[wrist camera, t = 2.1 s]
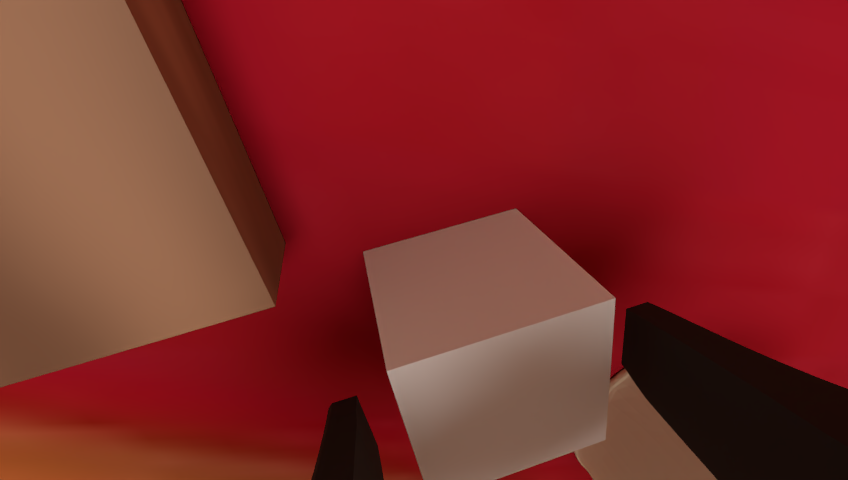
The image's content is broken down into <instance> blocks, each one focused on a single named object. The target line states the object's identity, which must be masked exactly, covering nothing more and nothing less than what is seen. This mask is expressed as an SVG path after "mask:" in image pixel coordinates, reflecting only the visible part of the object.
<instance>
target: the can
mask: <svg viewBox="0 0 848 480" xmlns="http://www.w3.org/2000/svg"><path fill="white" fill-rule="evenodd" d="M574 452H575V455H576V457H577V459H578V461H579V462H580V464H581V465H582V466H583V467H584V468H585V469H586V470H587V471H588V473H589V474H590V475H591V477H592V478H593V480H717V479H716V478H715V477H714V475H713V474H712V473H711V472H710V471H709V470H708V469H707V468H706V466H705V465H704V464H703V463H702V462H701V461H700V460H699V459H698V457H697V456H696V455H695V454H694V453H693V452H692V451H691V450H690V448H689V447H688V446H687V445H686V444H685V443H684V442H683V441H682V439H681V438H680V437H679V436H678V435H677V434H676V433H675V431H674V430H673V429H672V428H671V427H670V426H669V425H668V424H667V422H666V421H665V420H664V419H663V418H662V417H661V416H660V414H659V413H658V412H657V411H656V410H655V409H654V408H653V406H652V405H651V404H650V403H649V402H648V400H647V399H646V398H645V397H644V395H643V394H642V392H641V391H640V390H639V388H638V387H637V386H636V384H635V383H634V381H633V380H632V378H631V377H630V375H629V374H628V372H627V371H626V369H623V370H622V371H620V372H619V373H618V374H617V375H615V376H614V377H613V378H612V379H611V380H610V385H609V399H608V413H607V427H606V440H604V441H601V442H598V443H596V444H593V445H590V446H587V447H584V448H582V449H579V450H576V451H574Z"/></svg>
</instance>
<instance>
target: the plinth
mask: <svg viewBox="0 0 848 480" xmlns="http://www.w3.org/2000/svg"><path fill="white" fill-rule="evenodd" d="M284 249H285V241H284V239H283V236H282V234H281V232H280V229H279V227H278V225H277V222H276V220H275V218H274V215H273V213H272V211H271V208H270V206H269V204H268V201H267V199H266V197H265V194H264V192H263V190H262V188H261V185H260V183H259V181H258V178H257V176H256V174H255V171H254V169H253V167H252V164H251V162H250V160H249V157H248V155H247V153H246V150H245V148H244V146H243V143H242V141H241V139H240V136H239V134H238V132H237V129H236V127H235V125H234V122H233V120H232V118H231V115H230V113H229V111H228V109H227V106H226V104H225V102H224V99H223V97H222V95H221V92H220V90H219V88H218V85H217V83H216V81H215V78H214V76H213V74H212V71H211V69H210V67H209V64H208V62H207V60H206V57H205V55H204V53H203V50H202V48H201V46H200V43H199V41H198V39H197V37H196V34H195V32H194V30H193V27H192V25H191V23H190V20H189V18H188V16H187V13H186V11H185V9H184V6H183V4H182V2H181V0H0V387H3V386H6V385H10V384H13V383H17V382H20V381H23V380H27V379H30V378H34V377H37V376H40V375H44V374H47V373H51V372H54V371H57V370H61V369H64V368H68V367H71V366H74V365H78V364H81V363H85V362H88V361H91V360H95V359H98V358H102V357H105V356H108V355H112V354H115V353H119V352H122V351H125V350H129V349H132V348H136V347H139V346H142V345H146V344H149V343H153V342H156V341H159V340H163V339H166V338H170V337H173V336H176V335H180V334H183V333H187V332H190V331H193V330H197V329H200V328H204V327H207V326H210V325H214V324H217V323H221V322H224V321H227V320H231V319H234V318H238V317H241V316H244V315H248V314H251V313H255V312H258V311H261V310H265V309H268V308H272V307H275V306H276V299H277V293H278V287H279V281H280V274H281V268H282V262H283V256H284Z"/></svg>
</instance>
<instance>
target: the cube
mask: <svg viewBox="0 0 848 480" xmlns="http://www.w3.org/2000/svg"><path fill="white" fill-rule="evenodd" d="M363 254H364V260H365V265H366V270H367V275H368V280H369V285H370V290H371V295H372V300H373V305H374V310H375V315H376V320H377V325H378V330H379V336H380V341H381V346H382V351H383V356H384V361H385V366H386V371H387V374H388V377H389V380H390V383H391V386H392V389H393V392H394V395H395V398H396V401H397V403H398V406H399V409H400V412H401V415H402V418H403V421H404V424H405V427H406V430H407V433H408V436H409V439H410V442H411V445H412V448H413V451H414V454H415V457H416V459H417V462H418V465H419V468H420V471H421V474H422V477H423V480H496V479H499V478H501V477H504V476H507V475H510V474H513V473H515V472H518V471H521V470H524V469H526V468H529V467H532V466H535V465H537V464H540V463H543V462H546V461H549V460H551V459H554V458H557V457H560V456H562V455H565V454H568V453H571V452H573V451H576V450H579V449H582V448H584V447H587V446H590V445H593V444H596V443H598V442H601V441H604V440H606V427H607V413H608V399H609V385H610V371H611V356H612V342H613V328H614V314H615V300H616V298H615V297H614V296H613V295H612V294H611V293H609V292H608V291H607V290H606V289H605V288H604V287H603V286H602V285H601V284H599V283H598V282H597V281H596V280H595V279H594V278H593V277H592V276H591V275H589V274H588V273H587V272H586V271H585V270H584V269H583V268H582V267H581V266H579V265H578V264H577V263H576V262H575V261H574V260H573V259H572V258H571V257H569V256H568V255H567V254H566V253H565V252H564V251H563V250H562V249H561V248H559V247H558V246H557V245H556V244H555V243H554V242H553V241H552V240H551V239H549V238H548V237H547V236H546V235H545V234H544V233H543V232H542V231H541V230H539V229H538V228H537V227H536V226H535V225H534V224H533V223H532V222H531V221H529V220H528V219H527V218H526V217H525V216H524V215H523V214H522V213H521V212H519V211H518V210H517V209H512V210H509V211H505V212H502V213H498V214H494V215H491V216H487V217H484V218H480V219H477V220H473V221H470V222H466V223H463V224H459V225H456V226H452V227H448V228H445V229H441V230H438V231H434V232H431V233H427V234H424V235H420V236H417V237H413V238H410V239H406V240H403V241H399V242H395V243H392V244H388V245H385V246H381V247H378V248H374V249H371V250H367V251H364V252H363Z"/></svg>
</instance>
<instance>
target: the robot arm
mask: <svg viewBox="0 0 848 480" xmlns="http://www.w3.org/2000/svg"><path fill="white" fill-rule="evenodd" d="M622 365H623V366H624V368H625V369H626V371H627V372H628V374H629V375H630V377H631V378H632V380H633V381H634V383H635V384H636V386H637V387H638V388H639V390H640V391H641V392H642V394H643V395H644V397H645V398H646V399H647V400H648V402H649V403H650V404H651V405H652V406H653V408H654V409H655V410H656V411H657V412H658V413H659V414H660V416H661V417H662V418H663V419H664V420H665V421H666V422H667V424H668V425H669V426H670V427H671V428H672V429H673V430H674V431H675V433H676V434H677V435H678V436H679V437H680V438H681V439H682V441H683V442H684V443H685V444H686V445H687V446H688V447H689V448H690V450H691V451H692V452H693V453H694V454H695V455H696V456H697V457H698V459H699V460H700V461H701V462H702V463H703V464H704V465H705V466H706V468H707V469H708V470H709V471H710V472H711V473H712V474H713V475H714V477H715V478H716V479H717V480H848V389H846V388H844V387H841V386H838V385H836V384H833V383H830V382H828V381H825V380H822V379H820V378H817V377H815V376H812V375H810V374H807V373H805V372H803V371H800V370H798V369H795V368H793V367H790V366H788V365H785V364H783V363H781V362H778V361H776V360H773V359H771V358H769V357H767V356H764V355H762V354H760V353H757V352H755V351H753V350H751V349H748V348H746V347H744V346H742V345H739V344H737V343H735V342H733V341H731V340H728V339H726V338H724V337H722V336H720V335H718V334H715V333H713V332H711V331H709V330H707V329H705V328H703V327H700V326H698V325H696V324H694V323H692V322H690V321H688V320H686V319H684V318H681V317H679V316H677V315H675V314H673V313H671V312H669V311H666V310H664V309H662V308H660V307H658V306H655V305H653V304H651V303H649V302H646V303H643V304H640V305H637V306H634V307H631V308H628V309H626V320H625V331H624V342H623V353H622ZM311 480H384V479H383V473H382V467H381V462H380V456H379V451H378V445H377V443H376V441H375V438H374V436H373V433H372V431H371V429H370V426H369V424H368V422H367V419H366V417H365V414H364V412H363V410H362V407H361V405H360V403H359V400H358V398H357V396H354V397H351V398H348V399H344V400H341V401H338V402H335V403H332V404H331V406H330V407H329V410H328V415H327V420H326V425H325V429H324V434H323V438H322V442H321V446H320V450H319V454H318V458H317V462H316V465H315V469H314V472H313V476H312V479H311Z"/></svg>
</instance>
